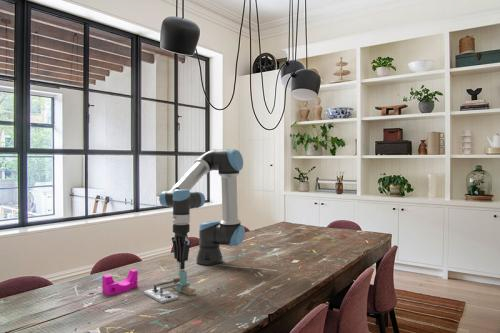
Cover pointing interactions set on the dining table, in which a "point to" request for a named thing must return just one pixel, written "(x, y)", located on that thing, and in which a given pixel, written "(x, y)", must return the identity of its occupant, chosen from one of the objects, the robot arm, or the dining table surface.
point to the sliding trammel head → (179, 285)
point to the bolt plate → (161, 295)
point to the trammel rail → (185, 289)
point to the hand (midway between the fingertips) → (180, 275)
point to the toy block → (119, 283)
